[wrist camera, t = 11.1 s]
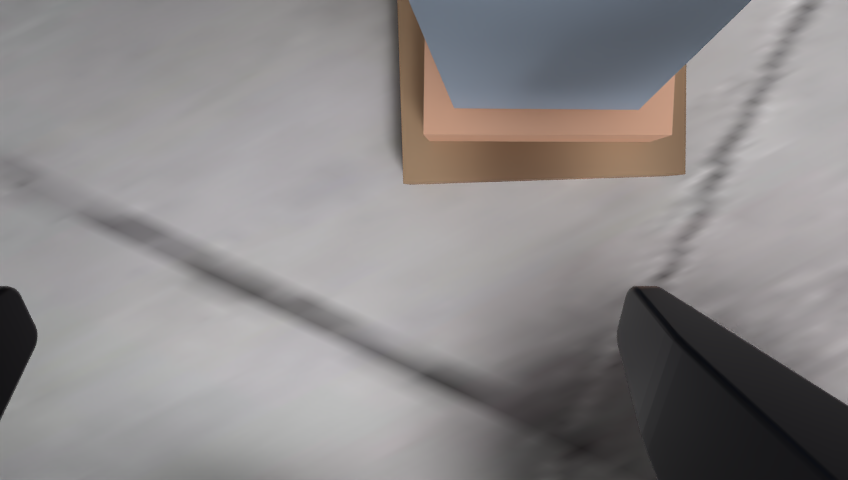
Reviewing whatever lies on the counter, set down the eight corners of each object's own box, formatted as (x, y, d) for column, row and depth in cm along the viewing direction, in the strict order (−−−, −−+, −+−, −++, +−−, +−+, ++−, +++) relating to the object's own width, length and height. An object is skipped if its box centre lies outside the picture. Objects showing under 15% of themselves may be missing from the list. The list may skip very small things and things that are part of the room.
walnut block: (659, -83, 19) (687, -125, 17) (658, 176, 20) (685, 174, 17) (404, -63, 20) (393, -100, 17) (412, 184, 21) (403, 183, 18)
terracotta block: (660, -90, 17) (685, -128, 15) (649, 142, 17) (672, 135, 15) (432, -81, 17) (426, -118, 15) (429, 141, 18) (423, 134, 16)
